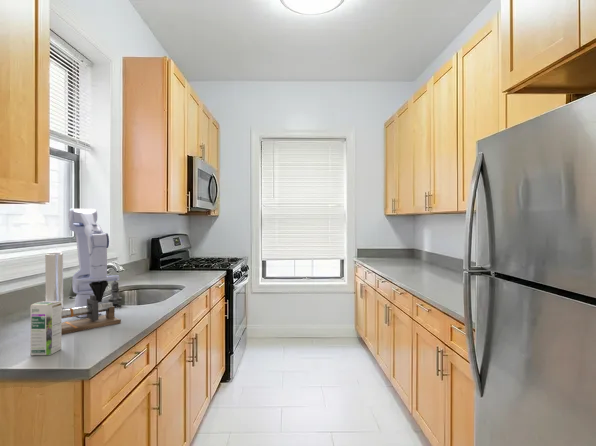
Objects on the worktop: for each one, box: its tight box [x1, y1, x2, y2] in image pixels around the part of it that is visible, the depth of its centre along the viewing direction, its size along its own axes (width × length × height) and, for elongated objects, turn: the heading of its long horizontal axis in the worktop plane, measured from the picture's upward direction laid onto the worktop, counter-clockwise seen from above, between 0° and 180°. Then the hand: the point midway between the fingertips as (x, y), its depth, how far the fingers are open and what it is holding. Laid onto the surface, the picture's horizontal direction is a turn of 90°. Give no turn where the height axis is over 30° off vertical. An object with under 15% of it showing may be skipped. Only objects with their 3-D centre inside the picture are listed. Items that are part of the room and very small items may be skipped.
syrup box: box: [29, 300, 62, 356], centre depth 111 cm, size 6×6×14 cm
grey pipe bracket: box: [86, 295, 99, 321], centre depth 141 cm, size 7×2×8 cm, turn 47°
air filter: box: [44, 251, 64, 310], centre depth 166 cm, size 6×6×25 cm
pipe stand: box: [61, 302, 122, 335], centre depth 139 cm, size 12×22×7 cm, turn 137°
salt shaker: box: [107, 281, 123, 308], centre depth 171 cm, size 6×6×12 cm
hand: (98, 301), depth 143 cm, fingers closed
